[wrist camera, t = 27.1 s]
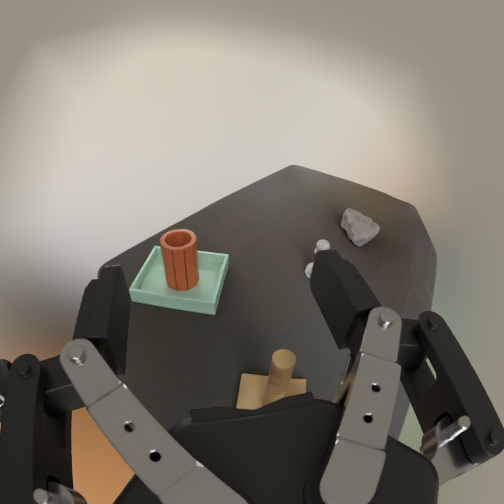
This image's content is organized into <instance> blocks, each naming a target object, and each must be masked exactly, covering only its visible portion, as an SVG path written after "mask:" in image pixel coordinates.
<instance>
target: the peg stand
mask: <svg viewBox="0 0 504 504" xmlns="http://www.w3.org/2000/svg"><path fill="white" fill-rule="evenodd" d="M295 363H296V357H295V355H294V353H292V352H291V351H289V350H286V349H280V350H278V351H276V352H275V353H274V354H273V357H272V361H271V366H270V371H269V376H262V375H253V374H245V373H242V375H241V382H240V388H239V394H238V400H237V406H236V408H239V409H258V408H260V407H262V406H265V405H267V404H269V403H272V402H274V401H276V400H279V399H281V398H283V397H287V396H292V395H297V394H302V393H306V379H292V378H291V375H292V372H293V369H294V366H295Z"/></svg>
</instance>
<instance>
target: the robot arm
mask: <svg viewBox="0 0 504 504" xmlns="http://www.w3.org/2000/svg"><path fill="white" fill-rule="evenodd" d="M310 288H311V291H312V294H313V296H314V298H315V300H316V302H317V304H318V306H319V308H320V310H321V312H322V314H323V316H324V318H325V321H326V323H327V325H328V327H329V329H330V331H331V333H332V335H333V338H334V340H335V342H336V344H337V346H338V348H339V350H340V349H344V348H349V349H350V351H351V352H350V354H349V357H348V360H347V363H346V366H345V369H344V372H343V375H342V378H341V381H340V384H339V387H338V390H337V393H336V395H335V397H334V399H333V401H332V402H331V401H327V400H322V399H314V397H313V394H312V391H311V392H307V393H302V394H297V395H292V396H287V397H283V398H281V399H279V400H276V401H274V402H272V403H269V404H267V405H265V406H262V407H260V408H258V409H239V408H229V407H214V408H204V409H193V410H191V417H190V418H187V419H185V420H183V421H180V422H178V423H177V424H175V425H174V426H172V427H171V428H170V429H168V430H167V431H166V430H165V429H164V428H163V427H162V426H161V425H160V424H159V423H158V422H157V421H156V420H155V418H154V417H153V416H152V415H151V414H150V413H149V412H148V411H147V410H146V409H145V407H144V406H143V405H142V404H141V403H140V402H139V401H138V399H137V398H136V397H135V396H134V395H133V393H132V392H131V391H130V390H129V389H128V388H127V386H126V385H125V384H124V383H121V381H120V380H119V379H118V378H117V375H123V374H125V367H126V351H127V338H128V327H129V316H130V294H129V290H128V287H127V283H126V280H125V276H124V272H123V268H122V266H121V265H112V266H103V267H102V270H101V274H100V278H99V279H96V280H92V281H91V282H90V283H89V284H88V286H87V287H86V288H85V291H84V294H83V298H82V302H81V305H80V309H79V314H78V317H77V322H76V326H75V330H74V335H73V339H72V341H70V342H68V343H67V344H66V345H65V346H64V347H63V348H62V350H61V352H60V355H58V356H56V357H53V358H49V359H46V360H43V361H39V360H38V359H37V358H36V356H34V355H32V354H24V355H21V356H19V357H18V358H16V359H15V361H14V362H13V363H12V365H11V368H10V369H9V368H8V367H7V366H6V365H5V364H4V363H3V362H2V360H1V359H0V409H1V408H3V413H2V421H1V430H0V504H87V502H86V500H85V498H84V497H83V496H82V495H81V494H80V493H79V492H77V491H75V490H74V489H73V477H72V455H71V418H72V410H76V409H79V408H82V407H87V408H86V409H87V411H88V412H89V414H90V416H91V417H92V418H93V420H94V421H95V423H96V424H97V426H98V427H99V428H100V430H101V431H102V432H103V434H104V435H105V436H106V438H107V439H108V441H109V442H110V443H111V444H112V446H113V447H114V448H115V449H116V451H117V452H118V453H119V455H120V456H121V457H122V458H123V459H124V461H125V462H126V463H127V464H128V465H129V467H130V468H131V469H132V470H133V471H134V472H135V474H134V476H133V477H132V479H131V480H130V481H129V482H128V484H127V485H126V486H125V488H124V489H123V491H122V492H121V494H120V495H119V496H118V497H117V499H116V500H115V501H114V503H113V504H437V499H438V490H439V486H440V485H442V484H444V483H445V482H447V481H449V480H450V479H453V478H455V477H457V476H459V475H461V474H463V473H465V472H467V471H469V470H471V469H473V468H475V467H477V466H479V465H480V464H482V463H484V462H486V461H488V460H489V459H491V458H493V457H494V456H496V455H498V454H499V453H500V452H502V450H503V449H504V428H503V426H502V424H501V422H500V420H499V418H498V415H497V413H496V411H495V409H494V407H493V405H492V403H491V401H490V399H489V397H488V395H487V393H486V391H485V389H484V387H483V385H482V383H481V381H480V380H479V378H478V376H477V374H476V372H475V370H474V369H473V367H472V366H471V364H470V362H469V360H468V358H467V357H466V355H465V353H464V351H463V350H462V348H461V346H460V345H459V343H458V341H457V340H456V338H455V336H454V335H453V333H452V332H451V330H450V328H449V327H448V325H447V324H446V322H445V321H444V320H443V318H442V317H441V316H440V315H438V314H437V313H435V312H431V311H425V312H422V313H421V314H420V316H419V317H418V319H417V320H411V319H401V318H400V317H399V315H398V314H397V313H396V312H395V311H393V310H391V309H389V308H386V307H382V306H381V305H380V303H379V302H378V300H377V298H376V297H375V295H374V294H373V292H372V291H371V289H370V288H369V286H368V285H367V283H365V280H364V279H363V277H361V274H360V273H359V271H358V270H357V268H356V267H355V266H354V265H353V264H351V263H350V262H349V261H347V260H342V258H341V257H340V255H339V254H338V252H337V251H336V250H335V249H326V250H317V252H316V254H315V258H314V262H313V267H312V271H311V275H310ZM427 358H428V359H429V360H430V362H431V364H432V366H433V368H434V370H435V372H436V377H437V378H436V380H435V378H434V376H433V374H432V372H431V370H430V368H429V366H428V364H427V362H426V359H427ZM399 380H401V382H402V384H403V387H404V389H405V391H406V393H407V396H408V398H409V400H410V402H411V405H412V407H413V409H414V412H415V414H416V416H417V419H418V421H419V424H420V426H421V428H422V431H423V433H424V435H423V437H422V446H421V447H420V453H419V452H417V451H415V450H413V449H412V448H410V447H408V446H406V445H405V444H403V443H401V442H400V441H398V440H396V439H394V438H393V437H391V436H389V435H388V433H389V429H390V425H391V421H392V416H393V412H394V407H395V402H396V397H397V392H398V386H399Z"/></svg>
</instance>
